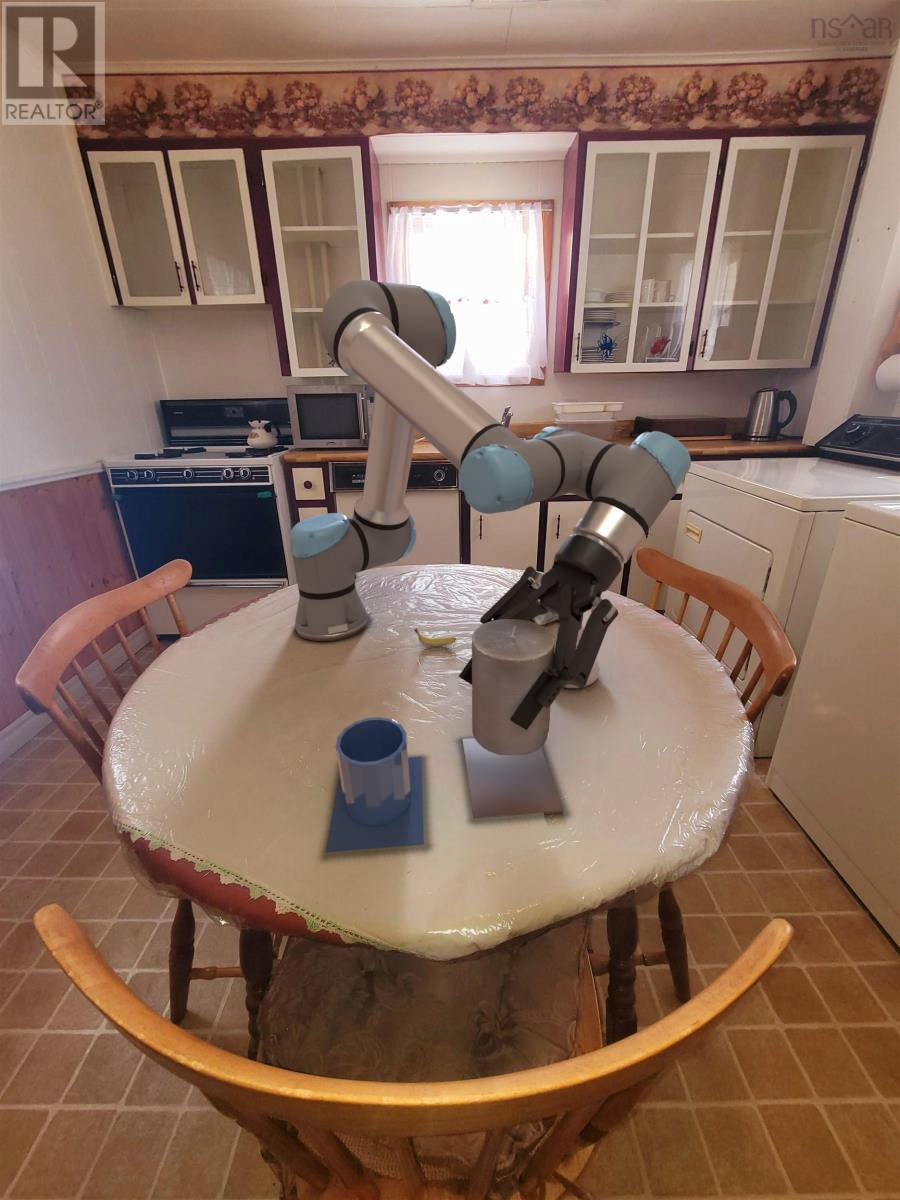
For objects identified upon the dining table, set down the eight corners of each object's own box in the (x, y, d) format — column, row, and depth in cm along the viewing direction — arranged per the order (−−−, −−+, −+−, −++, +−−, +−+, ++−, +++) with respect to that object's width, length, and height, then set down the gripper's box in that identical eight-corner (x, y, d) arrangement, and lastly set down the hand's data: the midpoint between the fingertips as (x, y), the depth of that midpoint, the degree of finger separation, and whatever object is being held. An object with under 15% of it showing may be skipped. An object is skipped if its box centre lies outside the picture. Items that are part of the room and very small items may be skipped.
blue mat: (342, 764, 67) (341, 762, 67) (421, 759, 68) (421, 756, 67) (326, 855, 54) (325, 852, 54) (424, 846, 55) (423, 843, 55)
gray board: (462, 741, 71) (461, 738, 70) (536, 736, 71) (536, 733, 71) (473, 820, 58) (473, 817, 58) (563, 813, 59) (563, 810, 58)
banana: (414, 648, 95) (413, 630, 94) (415, 644, 97) (414, 626, 95) (456, 648, 95) (455, 630, 93) (456, 644, 97) (456, 626, 95)
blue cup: (349, 777, 64) (340, 719, 60) (411, 772, 65) (406, 715, 61) (341, 829, 57) (331, 767, 53) (411, 823, 57) (406, 761, 53)
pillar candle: (503, 698, 68) (505, 601, 62) (563, 729, 62) (573, 625, 55) (455, 732, 62) (453, 629, 55) (517, 771, 55) (522, 659, 49)
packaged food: (581, 619, 105) (583, 599, 103) (537, 633, 100) (538, 611, 98) (555, 605, 112) (556, 585, 110) (513, 617, 107) (513, 597, 105)
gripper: (690, 595, 52) (573, 766, 51) (548, 543, 70) (458, 671, 69) (667, 558, 48) (537, 746, 47) (521, 513, 65) (424, 649, 64)
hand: (490, 701), depth 58 cm, fingers closed on pillar candle, 10 cm apart
